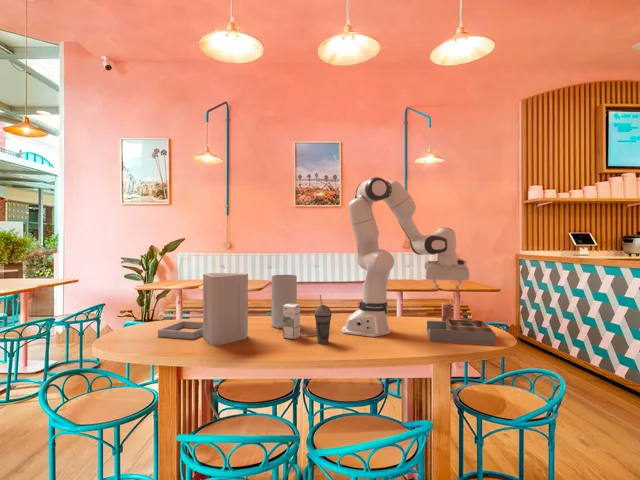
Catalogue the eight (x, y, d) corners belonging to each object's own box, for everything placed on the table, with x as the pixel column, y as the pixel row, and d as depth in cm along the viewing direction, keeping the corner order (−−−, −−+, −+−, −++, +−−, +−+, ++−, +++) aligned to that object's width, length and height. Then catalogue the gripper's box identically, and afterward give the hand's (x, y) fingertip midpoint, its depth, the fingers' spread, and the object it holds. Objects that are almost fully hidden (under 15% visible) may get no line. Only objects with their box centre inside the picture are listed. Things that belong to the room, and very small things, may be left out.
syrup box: (300, 336, 154) (300, 303, 154) (294, 339, 148) (294, 306, 148) (289, 334, 156) (289, 302, 156) (282, 338, 151) (282, 305, 151)
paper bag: (192, 344, 141) (192, 276, 141) (206, 334, 156) (207, 272, 156) (237, 346, 139) (238, 276, 140) (248, 335, 154) (248, 273, 154)
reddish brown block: (442, 329, 168) (442, 304, 168) (441, 327, 171) (441, 302, 171) (451, 329, 167) (451, 304, 167) (450, 327, 171) (450, 303, 171)
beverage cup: (330, 345, 141) (330, 296, 141) (312, 344, 142) (312, 295, 142) (332, 340, 148) (333, 293, 148) (316, 339, 149) (316, 293, 149)
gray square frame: (158, 336, 152) (158, 329, 152) (182, 326, 170) (182, 320, 170) (193, 339, 149) (193, 332, 149) (214, 329, 166) (214, 322, 166)
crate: (450, 338, 147) (450, 326, 147) (445, 330, 161) (445, 318, 161) (490, 341, 143) (490, 328, 143) (482, 332, 157) (482, 320, 157)
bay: (430, 341, 147) (430, 329, 147) (426, 330, 164) (426, 320, 164) (495, 345, 141) (495, 333, 141) (484, 334, 158) (485, 323, 158)
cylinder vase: (295, 329, 167) (295, 277, 167) (269, 328, 167) (269, 277, 167) (297, 322, 179) (297, 274, 179) (273, 322, 179) (273, 274, 179)
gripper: (425, 261, 168) (425, 289, 168) (470, 261, 164) (470, 290, 164) (424, 260, 174) (424, 287, 174) (467, 260, 170) (467, 288, 170)
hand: (447, 289), depth 169 cm, fingers open, 8 cm apart
